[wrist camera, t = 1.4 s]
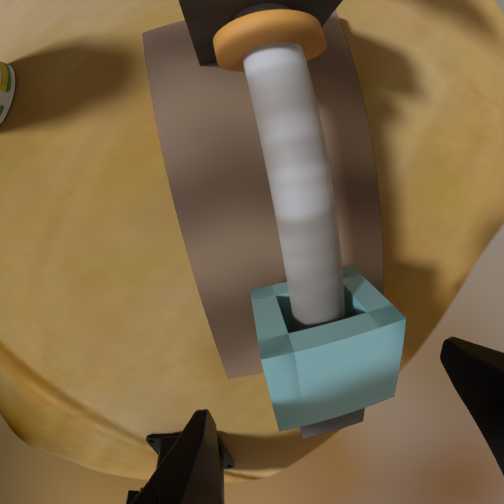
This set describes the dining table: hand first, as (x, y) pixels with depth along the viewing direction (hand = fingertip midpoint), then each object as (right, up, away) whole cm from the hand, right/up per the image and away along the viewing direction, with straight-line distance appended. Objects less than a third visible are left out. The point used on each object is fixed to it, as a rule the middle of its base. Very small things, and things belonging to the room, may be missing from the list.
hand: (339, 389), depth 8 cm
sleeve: (0, +2, +5) cm, 5 cm away
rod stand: (-2, +7, +5) cm, 9 cm away
